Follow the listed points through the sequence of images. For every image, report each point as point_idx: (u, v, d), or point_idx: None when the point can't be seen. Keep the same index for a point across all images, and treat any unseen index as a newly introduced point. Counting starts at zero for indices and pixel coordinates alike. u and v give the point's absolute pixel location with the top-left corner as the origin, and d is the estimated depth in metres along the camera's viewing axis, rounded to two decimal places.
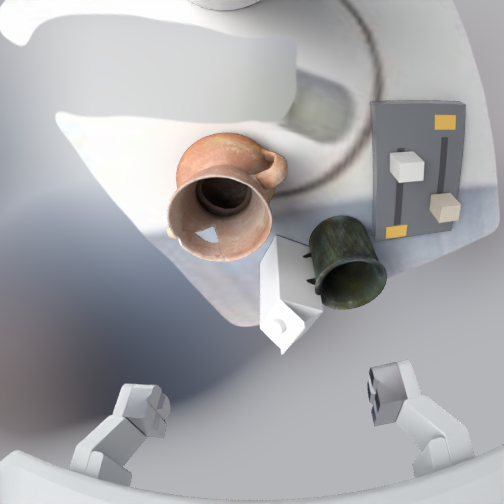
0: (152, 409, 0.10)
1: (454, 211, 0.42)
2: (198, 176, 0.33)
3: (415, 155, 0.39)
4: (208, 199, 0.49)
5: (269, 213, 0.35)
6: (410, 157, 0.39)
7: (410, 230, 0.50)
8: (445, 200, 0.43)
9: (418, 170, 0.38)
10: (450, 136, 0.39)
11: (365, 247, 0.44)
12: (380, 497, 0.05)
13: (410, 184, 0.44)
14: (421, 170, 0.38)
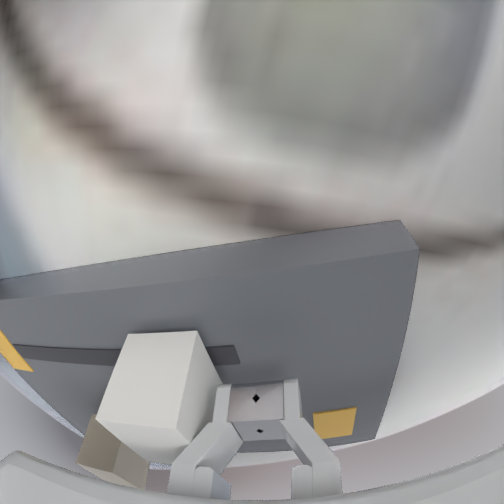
0: None
1: (121, 483, 0.15)
2: None
3: None
4: None
5: None
6: (207, 415, 0.10)
7: (29, 376, 0.16)
8: (132, 458, 0.15)
9: None
10: None
11: None
12: (381, 498, 0.05)
13: None
14: None
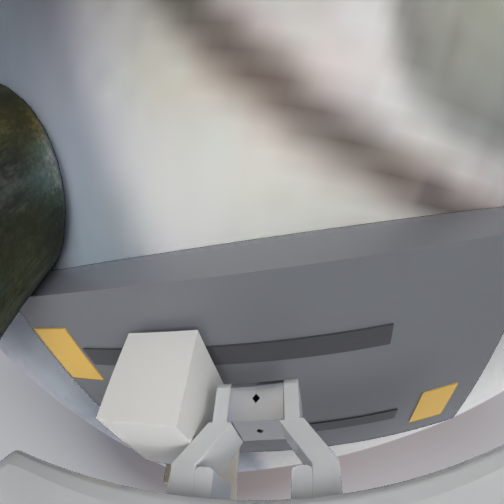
0: None
1: None
2: None
3: None
4: None
5: None
6: (208, 414, 0.10)
7: (93, 385, 0.15)
8: (228, 467, 0.15)
9: None
10: (394, 419, 0.16)
11: None
12: (380, 497, 0.05)
13: (245, 379, 0.13)
14: None
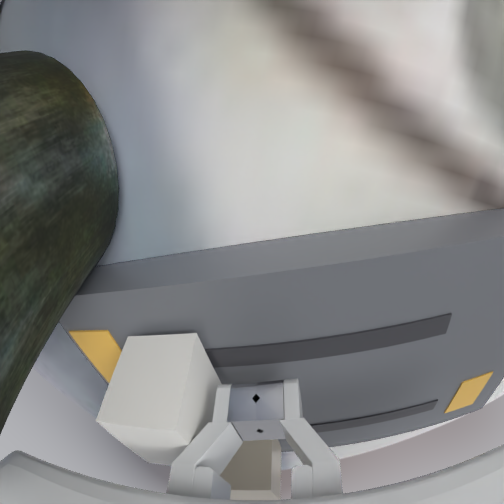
0: None
1: (258, 499, 0.13)
2: None
3: None
4: None
5: None
6: (208, 417, 0.10)
7: None
8: (276, 468, 0.14)
9: None
10: (432, 411, 0.16)
11: None
12: (380, 498, 0.05)
13: (305, 375, 0.13)
14: None
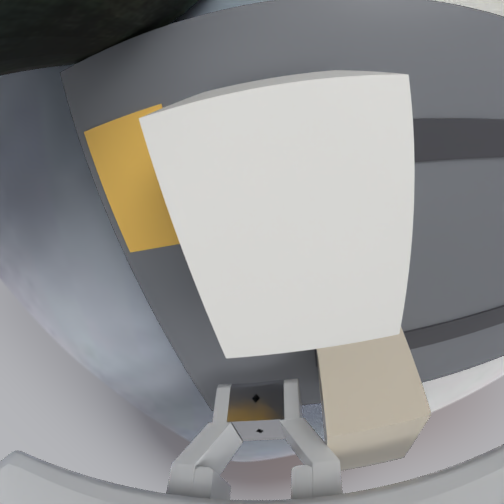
0: None
1: (380, 454, 0.08)
2: None
3: None
4: None
5: None
6: None
7: (168, 267, 0.10)
8: None
9: (323, 310, 0.04)
10: None
11: None
12: (380, 498, 0.05)
13: (457, 200, 0.08)
14: (322, 331, 0.05)
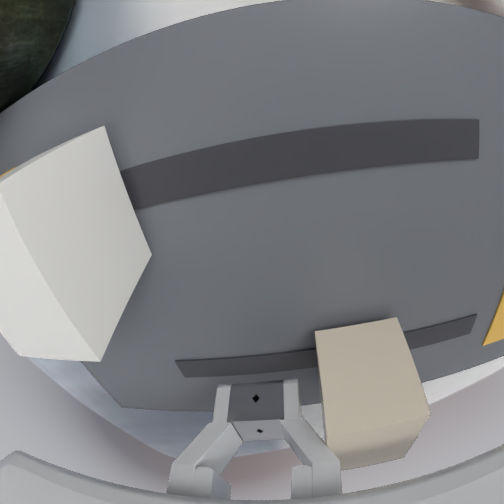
0: None
1: (380, 454, 0.08)
2: None
3: (128, 277, 0.07)
4: None
5: None
6: (96, 252, 0.06)
7: None
8: None
9: (38, 332, 0.05)
10: (468, 339, 0.11)
11: None
12: (380, 497, 0.05)
13: (275, 226, 0.09)
14: (48, 347, 0.06)
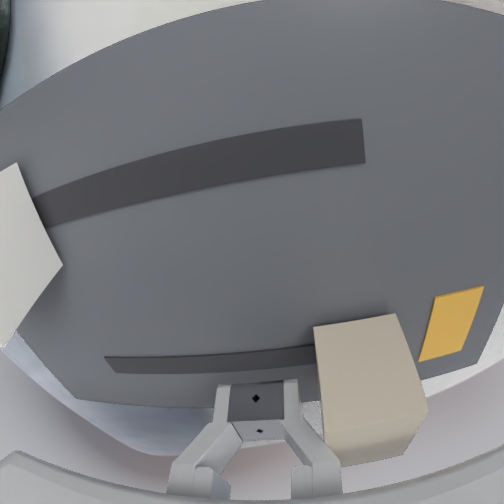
0: None
1: (379, 451, 0.08)
2: None
3: (35, 284, 0.08)
4: None
5: None
6: (4, 265, 0.07)
7: None
8: None
9: None
10: None
11: None
12: (380, 497, 0.05)
13: (153, 241, 0.09)
14: None
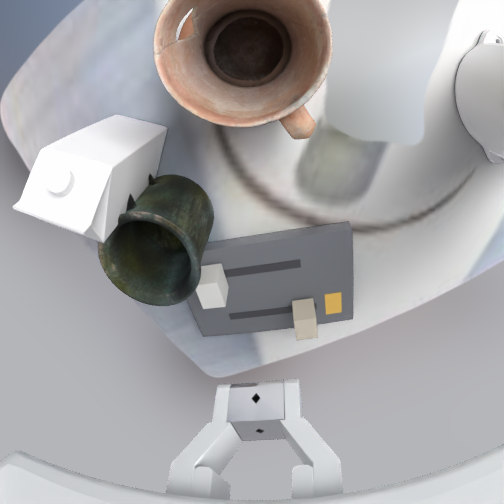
0: None
1: (309, 333, 0.42)
2: (328, 20, 0.16)
3: (226, 292, 0.41)
4: None
5: (259, 122, 0.20)
6: (223, 288, 0.40)
7: (192, 293, 0.44)
8: None
9: (213, 302, 0.39)
10: (317, 311, 0.45)
11: None
12: (380, 498, 0.05)
13: (255, 281, 0.43)
14: (214, 305, 0.39)
